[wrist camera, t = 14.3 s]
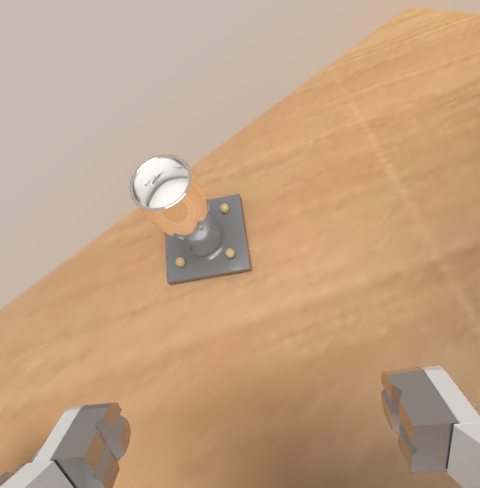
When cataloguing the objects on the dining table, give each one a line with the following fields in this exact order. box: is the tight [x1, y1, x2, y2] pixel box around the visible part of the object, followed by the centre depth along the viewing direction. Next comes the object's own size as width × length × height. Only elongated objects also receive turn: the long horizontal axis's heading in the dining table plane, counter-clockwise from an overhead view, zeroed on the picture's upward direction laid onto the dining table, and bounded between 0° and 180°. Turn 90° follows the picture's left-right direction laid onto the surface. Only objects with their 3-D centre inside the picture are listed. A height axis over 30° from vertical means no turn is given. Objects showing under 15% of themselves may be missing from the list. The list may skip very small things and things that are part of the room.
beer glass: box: [130, 155, 222, 257], centre depth 36 cm, size 7×7×15 cm
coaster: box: [166, 194, 251, 284], centre depth 43 cm, size 12×12×2 cm
